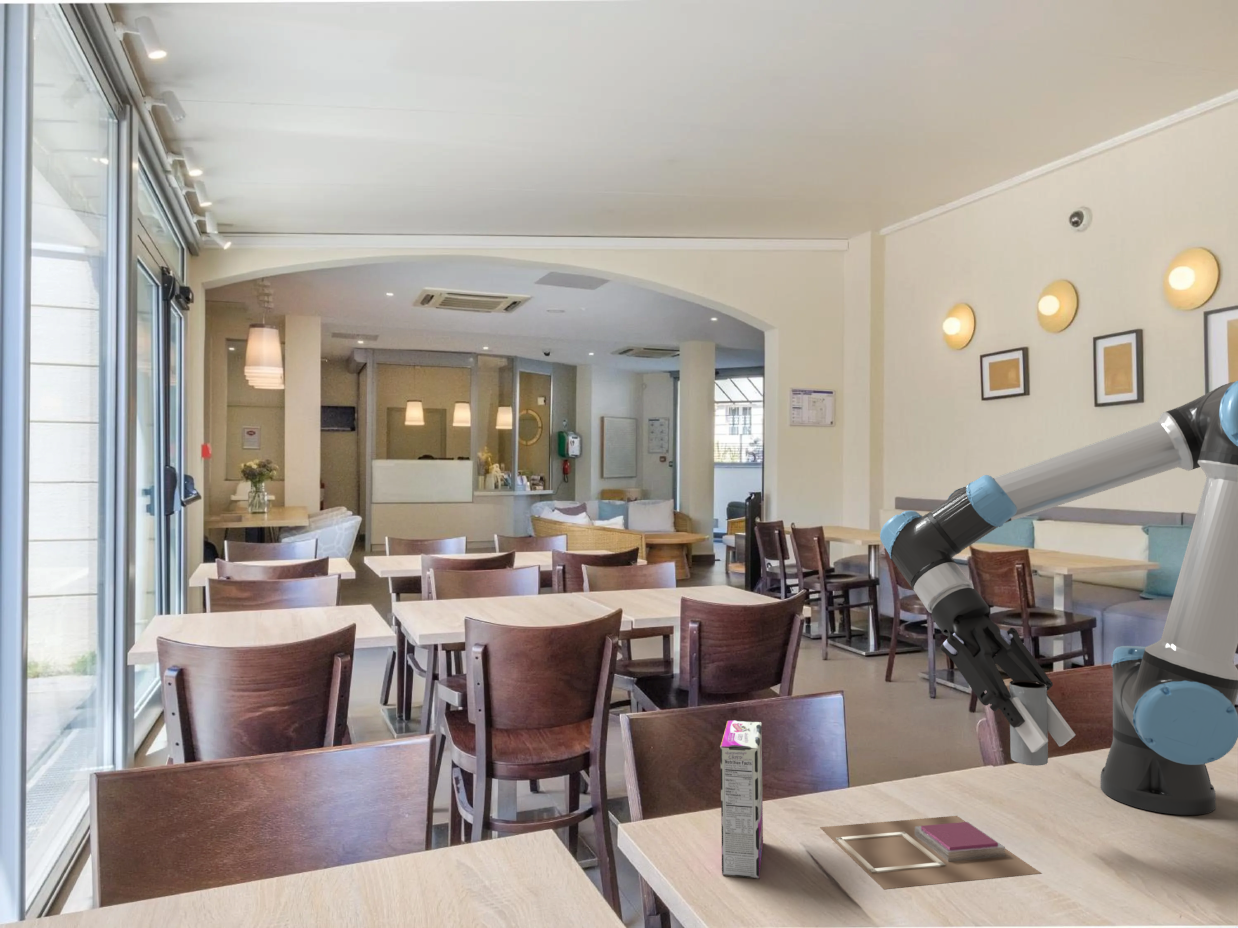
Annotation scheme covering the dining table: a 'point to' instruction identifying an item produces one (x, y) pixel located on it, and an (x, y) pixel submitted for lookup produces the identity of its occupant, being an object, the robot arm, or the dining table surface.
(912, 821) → the walnut board
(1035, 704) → the gray cylinder
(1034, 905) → the dining table surface
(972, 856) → the ink pad
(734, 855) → the candy bar box
